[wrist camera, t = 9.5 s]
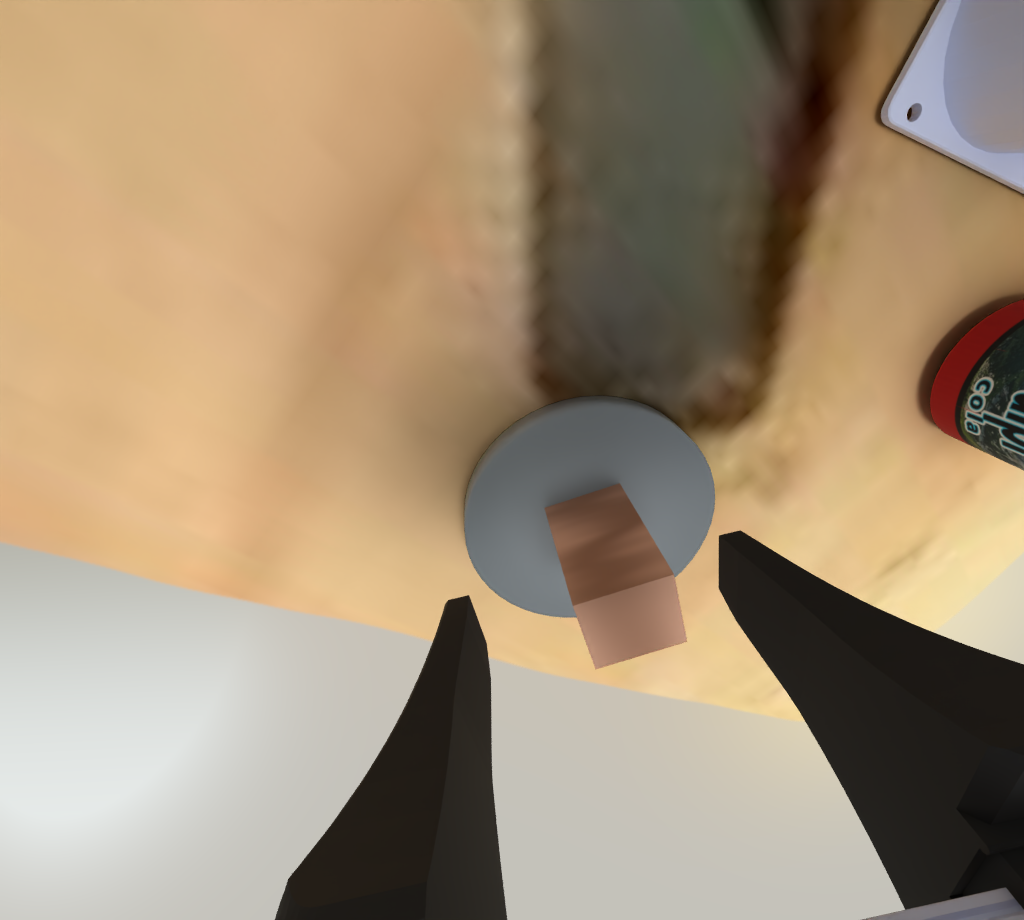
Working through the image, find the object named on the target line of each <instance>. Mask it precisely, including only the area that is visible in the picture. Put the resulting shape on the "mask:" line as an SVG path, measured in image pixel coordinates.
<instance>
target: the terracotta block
mask: <svg viewBox="0 0 1024 920" xmlns="http://www.w3.org/2000/svg"><path fill="white" fill-rule="evenodd" d="M544 509H545V512H546V515H547V519H548V522H549V526H550V529H551V533H552V536H553V540H554V543H555V546H556V550H557V553H558V557H559V560H560V564H561V567H562V571H563V574H564V577H565V581H566V584H567V588H568V591H569V595H570V598H571V602H572V605H573V608H574V611H575V613H576V616H577V619H578V622H579V624H580V627H581V630H582V633H583V636H584V638H585V641H586V644H587V647H588V649H589V652H590V655H591V658H592V660H593V663H594V666H595V669H598V668H602V667H605V666H608V665H612V664H615V663H618V662H621V661H625V660H628V659H631V658H635V657H638V656H641V655H645V654H648V653H651V652H655V651H658V650H661V649H664V648H668V647H671V646H674V645H678V644H681V643H684V642H687V638H686V633H685V628H684V623H683V618H682V613H681V607H680V602H679V597H678V592H677V587H676V582H675V577H674V573H673V572H672V570H671V568H670V567H669V565H668V563H667V562H666V560H665V558H664V557H663V555H662V553H661V552H660V550H659V548H658V547H657V545H656V543H655V542H654V540H653V538H652V537H651V535H650V533H649V531H648V530H647V528H646V526H645V525H644V523H643V521H642V520H641V518H640V516H639V515H638V513H637V511H636V510H635V508H634V506H633V505H632V503H631V501H630V500H629V498H628V496H627V494H626V493H625V491H624V489H623V488H622V486H621V484H620V483H619V484H616V485H613V486H610V487H607V488H604V489H601V490H598V491H594V492H591V493H588V494H585V495H582V496H579V497H576V498H573V499H570V500H567V501H564V502H561V503H558V504H555V505H552V506H549V507H545V508H544Z"/></svg>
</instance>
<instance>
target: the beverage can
mask: <svg viewBox="0 0 1024 920" xmlns="http://www.w3.org/2000/svg"><path fill="white" fill-rule="evenodd" d="M930 409H931V414H932V417H933V420H934V422H935V423H936V425H937V426H938V427H939V428H940V429H941V430H942V431H943V432H944V433H946V434H948V435H950V436H952V437H954V438H956V439H958V440H960V441H962V442H964V443H967V444H969V445H971V446H973V447H975V448H977V449H979V450H981V451H983V452H986V453H988V454H990V455H992V456H994V457H996V458H998V459H1000V460H1003V461H1005V462H1007V463H1009V464H1011V465H1013V466H1016V467H1018V468H1020V469H1022V470H1024V299H1023V300H1020V301H1017V302H1014V303H1012V304H1009V305H1007V306H1005V307H1003V308H1001V309H999V310H997V311H996V312H994V313H992V314H991V315H989V316H988V317H986V318H985V319H983V320H982V321H981V322H979V323H978V324H977V325H976V326H974V327H973V328H972V329H971V330H970V331H969V332H968V333H967V334H966V335H965V336H964V337H963V338H962V339H961V340H960V341H959V342H958V343H957V344H956V345H955V347H954V348H953V349H952V350H951V351H950V353H949V354H948V355H947V357H946V358H945V360H944V362H943V364H942V365H941V367H940V369H939V371H938V373H937V375H936V378H935V380H934V383H933V387H932V391H931V396H930Z"/></svg>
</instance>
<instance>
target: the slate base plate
mask: <svg viewBox="0 0 1024 920" xmlns="http://www.w3.org/2000/svg"><path fill="white" fill-rule="evenodd" d="M619 483H620V484H621V486H622V488H623V489H624V491H625V493H626V494H627V496H628V498H629V500H630V501H631V503H632V505H633V506H634V508H635V510H636V511H637V513H638V515H639V516H640V518H641V520H642V521H643V523H644V525H645V526H646V528H647V530H648V531H649V533H650V535H651V537H652V538H653V540H654V542H655V543H656V545H657V547H658V548H659V550H660V552H661V553H662V555H663V557H664V558H665V560H666V562H667V563H668V565H669V567H670V568H671V570H672V572H673V573H674V577H676V576H677V575H678V574H679V573H680V572H681V571H682V570H683V569H684V568H685V567H686V566H687V565H688V564H689V562H690V561H691V560H692V559H693V557H694V556H695V554H696V553H697V552H698V550H699V549H700V547H701V545H702V543H703V541H704V539H705V537H706V535H707V533H708V530H709V527H710V525H711V521H712V517H713V512H714V505H715V489H714V481H713V477H712V473H711V470H710V467H709V465H708V463H707V461H706V459H705V457H704V455H703V454H702V452H701V451H700V449H699V448H698V446H697V445H696V444H695V443H694V442H693V441H692V440H691V439H690V438H689V437H688V436H687V435H686V434H685V433H684V432H683V431H682V430H681V429H680V428H679V427H678V426H677V425H676V424H675V423H674V422H673V421H672V420H671V419H669V418H668V417H666V416H665V415H664V414H662V413H661V412H659V411H657V410H656V409H654V408H652V407H650V406H648V405H645V404H642V403H640V402H637V401H634V400H630V399H625V398H620V397H613V396H585V397H578V398H572V399H567V400H563V401H560V402H556V403H553V404H550V405H547V406H545V407H543V408H540V409H538V410H536V411H534V412H532V413H530V414H528V415H526V416H525V417H523V418H522V419H520V420H518V421H517V422H515V423H514V424H513V425H511V426H510V427H509V428H508V429H506V430H505V431H504V432H503V433H502V434H501V435H500V436H499V437H498V438H497V439H496V440H495V441H494V442H493V443H492V444H491V445H490V446H489V447H488V449H487V450H486V451H485V453H484V454H483V455H482V457H481V458H480V460H479V462H478V464H477V465H476V467H475V469H474V471H473V473H472V476H471V479H470V481H469V484H468V488H467V492H466V497H465V508H464V523H465V539H466V546H467V550H468V553H469V557H470V559H471V561H472V564H473V566H474V568H475V570H476V571H477V573H478V574H479V576H480V577H481V579H482V580H483V581H484V582H485V583H486V584H487V585H488V587H489V588H490V589H492V590H493V591H494V592H495V593H496V594H498V595H499V596H500V597H502V598H503V599H505V600H506V601H508V602H510V603H511V604H513V605H516V606H518V607H520V608H522V609H525V610H528V611H531V612H534V613H537V614H542V615H547V616H555V617H577V616H576V613H575V611H574V608H573V605H572V602H571V598H570V595H569V591H568V588H567V584H566V581H565V577H564V574H563V571H562V567H561V564H560V560H559V557H558V553H557V550H556V546H555V543H554V540H553V536H552V533H551V529H550V526H549V522H548V519H547V515H546V512H545V509H544V508H545V507H549V506H552V505H555V504H558V503H561V502H564V501H567V500H570V499H573V498H576V497H579V496H582V495H585V494H588V493H591V492H594V491H598V490H601V489H604V488H607V487H610V486H613V485H616V484H619Z"/></svg>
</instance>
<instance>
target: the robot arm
mask: <svg viewBox="0 0 1024 920" xmlns="http://www.w3.org/2000/svg"><path fill="white" fill-rule="evenodd" d="M910 107H911V108H912V114H911V117H910V119H909V120H907V112H908V110H909V108H910ZM881 119H882V122H883V123H884V124H885V125H886V126H888V127H890V128H892V129H894V130H896V131H898V132H900V133H902V134H904V135H906V136H908V137H910V138H912V139H914V140H916V141H918V142H920V143H922V144H924V145H926V146H928V147H930V148H932V149H934V150H936V151H938V152H940V153H942V154H944V155H946V156H948V157H950V158H952V159H954V160H956V161H958V162H960V163H962V164H964V165H966V166H968V167H970V168H972V169H974V170H976V171H978V172H980V173H982V174H985V175H987V176H989V177H991V178H993V179H995V180H997V181H999V182H1001V183H1003V184H1005V185H1007V186H1009V187H1011V188H1013V189H1015V190H1017V191H1019V192H1021V193H1023V194H1024V0H940V1H939V2H938V4H937V6H936V8H935V10H934V12H933V14H932V15H931V17H930V19H929V21H928V23H927V25H926V27H925V28H924V30H923V32H922V34H921V36H920V38H919V40H918V41H917V43H916V45H915V47H914V49H913V51H912V52H911V54H910V56H909V58H908V60H907V62H906V64H905V65H904V67H903V69H902V71H901V73H900V75H899V77H898V78H897V80H896V82H895V84H894V86H893V88H892V90H891V91H890V93H889V95H888V97H887V99H886V101H885V102H884V105H883V107H882V110H881ZM719 590H720V592H721V593H722V595H723V597H724V599H725V601H726V603H727V605H728V607H729V609H730V610H731V612H732V614H733V616H734V617H735V619H736V621H737V623H738V624H739V625H740V627H741V628H742V630H743V631H744V633H745V634H746V635H747V637H748V638H749V640H750V641H751V643H752V644H753V645H754V647H755V648H756V650H757V651H758V652H759V654H760V655H761V657H762V658H763V659H764V661H765V662H766V664H767V665H768V666H769V668H770V669H771V671H772V672H773V673H774V675H775V676H776V678H777V679H778V681H779V682H780V683H781V685H782V686H783V688H784V689H785V690H786V692H787V693H788V695H789V696H790V698H791V699H792V701H793V702H794V704H795V705H796V707H797V708H798V710H799V711H800V713H801V715H802V716H803V718H804V720H805V722H806V723H807V725H808V727H809V728H810V730H811V732H812V734H813V735H814V737H815V739H816V740H817V742H818V744H819V745H820V747H821V749H822V751H823V752H824V754H825V756H826V758H827V760H828V762H829V763H830V765H831V767H832V768H833V770H834V772H835V774H836V776H837V777H838V779H839V781H840V783H841V785H842V787H843V788H844V790H845V792H846V794H847V796H848V797H849V800H850V801H851V803H852V805H853V807H854V809H855V811H856V813H857V815H858V817H859V819H860V820H861V822H862V824H863V826H864V828H865V830H866V832H867V834H868V835H869V837H870V839H871V841H872V843H873V845H874V847H875V849H876V851H877V853H878V855H879V857H880V859H881V861H882V863H883V865H884V867H885V869H886V871H887V873H888V875H889V877H890V879H891V881H892V883H893V885H894V887H895V889H896V891H897V893H898V895H899V898H900V900H901V902H902V904H903V906H904V908H905V910H903V911H898V912H894V913H890V914H885V915H880V916H876V917H871V918H867V919H862V920H1024V665H1023V664H1020V663H1017V662H1014V661H1011V660H1008V659H1005V658H1002V657H999V656H996V655H993V654H990V653H987V652H984V651H982V650H979V649H976V648H973V647H970V646H967V645H965V644H962V643H959V642H957V641H954V640H952V639H949V638H946V637H944V636H941V635H938V634H936V633H934V632H931V631H928V630H926V629H924V628H921V627H919V626H916V625H914V624H912V623H909V622H907V621H905V620H902V619H900V618H898V617H896V616H894V615H891V614H889V613H887V612H885V611H882V610H880V609H878V608H876V607H874V606H872V605H870V604H868V603H865V602H863V601H861V600H859V599H857V598H856V597H854V596H852V595H850V594H848V593H846V592H844V591H842V590H840V589H838V588H836V587H834V586H833V585H831V584H829V583H827V582H825V581H823V580H822V579H820V578H818V577H816V576H815V575H813V574H811V573H809V572H808V571H806V570H804V569H802V568H801V567H799V566H797V565H796V564H794V563H792V562H791V561H789V560H787V559H786V558H784V557H782V556H781V555H779V554H778V553H776V552H774V551H773V550H771V549H769V548H768V547H766V546H765V545H763V544H761V543H760V542H758V541H757V540H755V539H753V538H752V537H750V536H749V535H747V534H745V533H744V532H742V531H736V532H732V533H728V534H724V535H720V536H719ZM491 762H492V753H491V677H490V668H489V660H488V651H487V643H486V640H485V638H484V635H483V632H482V629H481V627H480V624H479V621H478V619H477V616H476V613H475V610H474V608H473V605H472V602H471V600H470V597H469V595H468V596H464V597H460V598H456V599H451V600H448V601H447V603H446V604H445V607H444V611H443V614H442V617H441V620H440V623H439V626H438V629H437V632H436V635H435V638H434V640H433V643H432V646H431V648H430V651H429V653H428V656H427V658H426V661H425V664H424V666H423V668H422V671H421V673H420V675H419V678H418V680H417V682H416V684H415V686H414V689H413V691H412V693H411V695H410V698H409V699H408V702H407V704H406V706H405V708H404V710H403V712H402V714H401V716H400V717H399V719H398V721H397V723H396V725H395V727H394V729H393V731H392V732H391V734H390V736H389V738H388V739H387V741H386V743H385V745H384V746H383V748H382V750H381V751H380V753H379V755H378V756H377V758H376V759H375V761H374V763H373V764H372V766H371V768H370V769H369V771H368V772H367V774H366V776H365V777H364V779H363V780H362V782H361V783H360V785H359V786H358V787H357V789H356V790H355V792H354V793H353V795H352V796H351V798H350V799H349V800H348V802H347V803H346V805H345V806H344V808H343V809H342V810H341V812H340V813H339V815H338V816H337V818H336V819H335V820H334V822H333V823H332V824H331V826H330V827H329V828H328V830H327V831H326V832H325V834H324V835H323V836H322V837H321V839H320V840H319V841H318V842H317V844H316V845H315V846H314V848H313V849H312V850H311V851H310V853H309V854H308V855H307V856H306V858H305V859H304V860H303V861H302V863H301V864H300V865H299V867H298V868H297V869H296V870H295V871H294V873H293V874H292V875H291V876H290V878H289V879H288V882H287V885H286V888H285V891H284V894H283V897H282V899H281V902H280V905H279V908H278V911H277V914H276V918H275V920H507V915H506V907H505V897H504V889H503V880H502V872H501V862H500V853H499V844H498V834H497V825H496V815H495V803H494V794H493V783H492V763H491Z"/></svg>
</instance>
